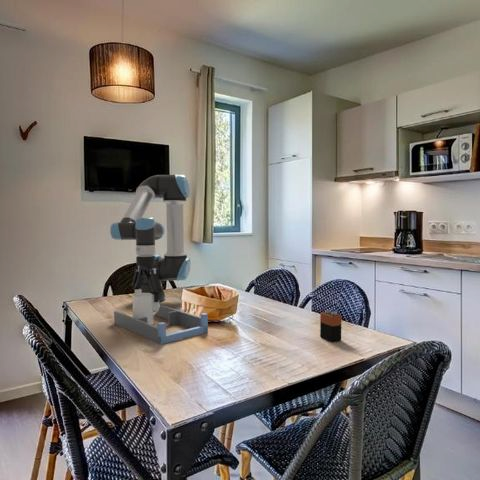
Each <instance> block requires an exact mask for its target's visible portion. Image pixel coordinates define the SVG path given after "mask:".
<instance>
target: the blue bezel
mask: <svg viewBox="0 0 480 480" xmlns="http://www.w3.org/2000/svg"><path fill="white" fill-rule="evenodd" d="M208 316H209V314H208V313H206V312H203V313H200V317H201V326H198V327H194V328H190V327H189V328H188V329H187V328H186V329H183V330H179V331H175V332H170V333H167V329H166V328H167V325H166V324H167V323H166V322H164V321H162V322H159V323H157V327H158V343H157V344H159V345H164V344H167V343H171V342H175V341H178V340H179V341H180V340H184V339H186V338H190V337H195V336H199V335H201V334H205V333H208V332H209V323H208V322H209V317H208Z"/></svg>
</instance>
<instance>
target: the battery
mask: <svg viewBox="0 0 480 480" xmlns="http://www.w3.org/2000/svg"><path fill="white" fill-rule="evenodd" d="M319 317H320V323H319V324H320V325H319V326H320V327H319V333H320V335H319V336H320V338H321V339H324V340H327V341H328V342H331V343H336V342H340V341H342V315H341V314H338V313H337V311H330V310H329V309H326V310H325V311H322V312H320V316H319Z"/></svg>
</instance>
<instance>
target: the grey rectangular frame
mask: <svg viewBox="0 0 480 480" xmlns="http://www.w3.org/2000/svg"><path fill="white" fill-rule="evenodd" d="M155 311H156V310H154V312H155ZM155 316H157V317H159V318H163V319H164V320H167V325H168V326H171V325H176V324H179V325H181V326H185V327H189V329H190V328H194V327H198V326H201V316H199V315H196V314H193V313H189V312H186V311H183V310H180V309H176V308H172V307H170V306H166V305H163V304H160V307H159V310H158V312H157V313H156V314H155ZM113 317H114V318H113V321H114V322H113V324H115V325H117V326H118V327H121V328H123V329H126V330H128V331H131V332H132V333H135V334H137V335H139V336H141V337H144V338H146V339H148V340H150V341H152V342H155V343H157V344H159V343H158V325H154V324H152V325H151V324H149V323H147V317H142V318H137V319H136V318H133V316H131V315H128V314H126V313H123V312H121V311H118V310H116V311H113Z"/></svg>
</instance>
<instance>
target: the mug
mask: <svg viewBox="0 0 480 480" xmlns="http://www.w3.org/2000/svg"><path fill="white" fill-rule="evenodd" d="M160 305H161V304H160V302H159V307H160ZM157 312H158V310H156V311H155V310H154V311H152V294H151V293H138V294H135V293H134V294H132V317H133V318H136V319H137V318H142V317H147V323H149V324H151V325H154V324H155V321H154V315H155V316H156V313H157Z"/></svg>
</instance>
